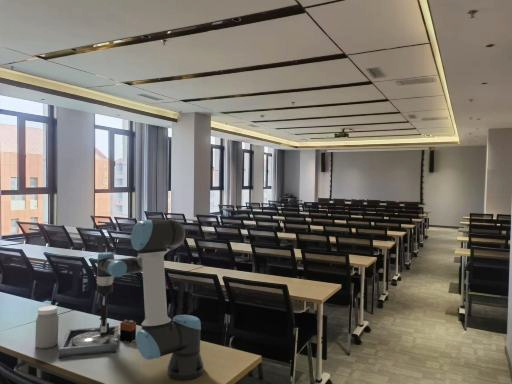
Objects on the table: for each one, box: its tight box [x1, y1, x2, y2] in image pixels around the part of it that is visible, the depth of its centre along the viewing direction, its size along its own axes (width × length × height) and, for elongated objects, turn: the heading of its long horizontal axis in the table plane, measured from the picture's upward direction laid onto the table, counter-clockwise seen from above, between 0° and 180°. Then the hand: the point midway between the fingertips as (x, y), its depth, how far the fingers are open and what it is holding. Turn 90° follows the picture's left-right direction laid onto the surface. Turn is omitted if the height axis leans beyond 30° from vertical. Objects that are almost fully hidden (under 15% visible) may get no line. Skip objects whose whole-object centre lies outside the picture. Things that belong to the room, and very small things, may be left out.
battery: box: [119, 319, 137, 343], centre depth 190 cm, size 4×7×10 cm, turn 69°
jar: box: [34, 305, 60, 350], centre depth 181 cm, size 10×10×18 cm
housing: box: [58, 325, 120, 359], centre depth 184 cm, size 24×25×4 cm
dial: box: [72, 322, 110, 347], centre depth 183 cm, size 17×17×8 cm
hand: (103, 331), depth 186 cm, fingers closed
